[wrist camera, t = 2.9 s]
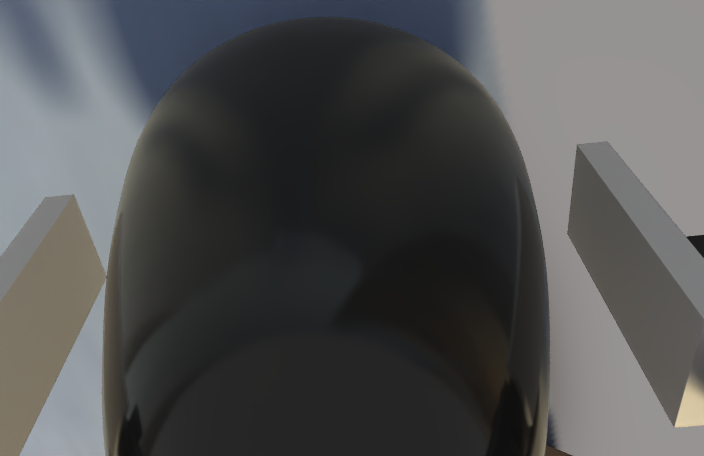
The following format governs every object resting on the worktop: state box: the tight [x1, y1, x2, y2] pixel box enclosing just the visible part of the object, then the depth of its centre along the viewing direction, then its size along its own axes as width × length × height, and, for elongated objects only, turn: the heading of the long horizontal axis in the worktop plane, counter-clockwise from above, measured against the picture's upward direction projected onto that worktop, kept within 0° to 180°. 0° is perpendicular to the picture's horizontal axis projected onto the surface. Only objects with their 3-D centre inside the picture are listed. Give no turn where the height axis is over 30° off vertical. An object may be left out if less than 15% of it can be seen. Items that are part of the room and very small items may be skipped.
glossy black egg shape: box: [102, 17, 550, 456], centre depth 14 cm, size 10×10×15 cm
